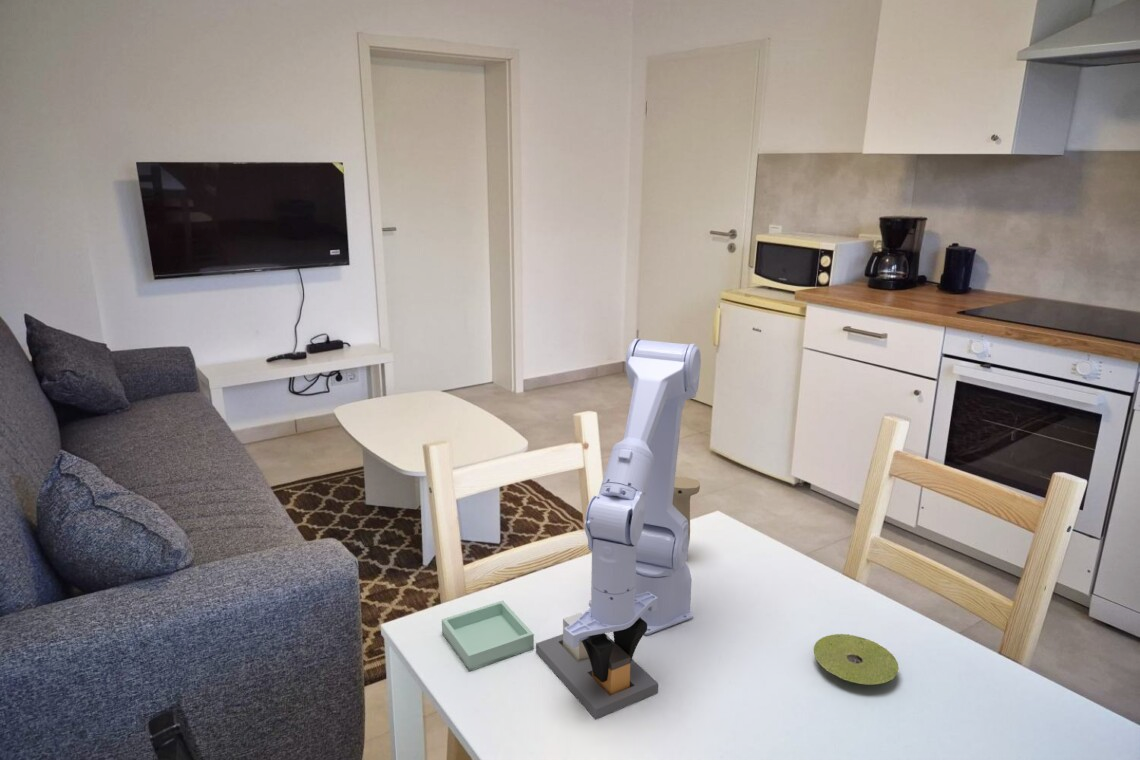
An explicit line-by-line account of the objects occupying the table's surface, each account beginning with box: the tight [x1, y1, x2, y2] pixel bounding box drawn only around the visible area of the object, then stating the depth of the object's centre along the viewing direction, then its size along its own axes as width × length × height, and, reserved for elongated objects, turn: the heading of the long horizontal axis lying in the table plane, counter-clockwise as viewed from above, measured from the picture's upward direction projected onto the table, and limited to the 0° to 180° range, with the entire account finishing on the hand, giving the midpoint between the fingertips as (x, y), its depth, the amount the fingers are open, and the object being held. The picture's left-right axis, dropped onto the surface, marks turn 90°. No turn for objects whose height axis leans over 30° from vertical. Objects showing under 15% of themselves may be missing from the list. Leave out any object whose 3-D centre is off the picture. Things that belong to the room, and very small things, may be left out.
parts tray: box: [441, 600, 535, 672], centre depth 111 cm, size 10×10×2 cm
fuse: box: [562, 612, 589, 662], centre depth 107 cm, size 3×4×6 cm, turn 31°
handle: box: [672, 476, 701, 541], centre depth 133 cm, size 5×6×15 cm
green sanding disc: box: [813, 633, 900, 685], centre depth 106 cm, size 11×11×2 cm
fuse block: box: [535, 633, 659, 720], centre depth 105 cm, size 10×16×2 cm, turn 31°
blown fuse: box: [592, 638, 631, 696], centre depth 101 cm, size 3×4×6 cm, turn 31°
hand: (611, 672), depth 101 cm, fingers closed on blown fuse, 3 cm apart
